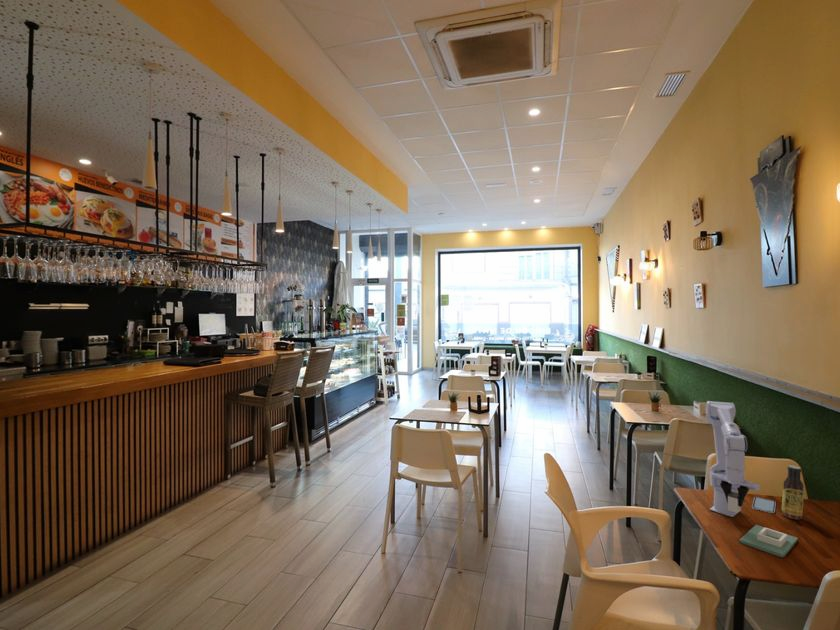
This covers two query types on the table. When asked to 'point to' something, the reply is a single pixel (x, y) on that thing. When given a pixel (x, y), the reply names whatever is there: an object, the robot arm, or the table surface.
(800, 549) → the table surface
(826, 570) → the table surface
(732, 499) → the plug
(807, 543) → the table surface
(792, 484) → the sauce bottle
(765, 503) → the smartphone
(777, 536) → the socket board
